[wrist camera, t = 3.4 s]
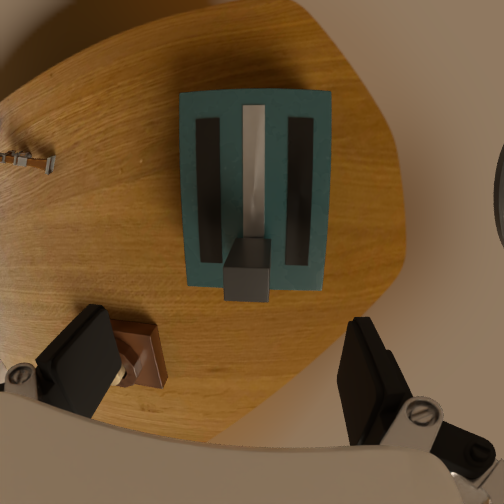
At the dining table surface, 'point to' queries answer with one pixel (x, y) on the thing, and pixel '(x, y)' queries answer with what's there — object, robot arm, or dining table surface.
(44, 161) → the wooden post with brackets
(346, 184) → the dining table surface
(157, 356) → the control block
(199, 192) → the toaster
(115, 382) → the button
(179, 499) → the robot arm
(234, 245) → the slider
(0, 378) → the lumpy-topped squat cylinder
